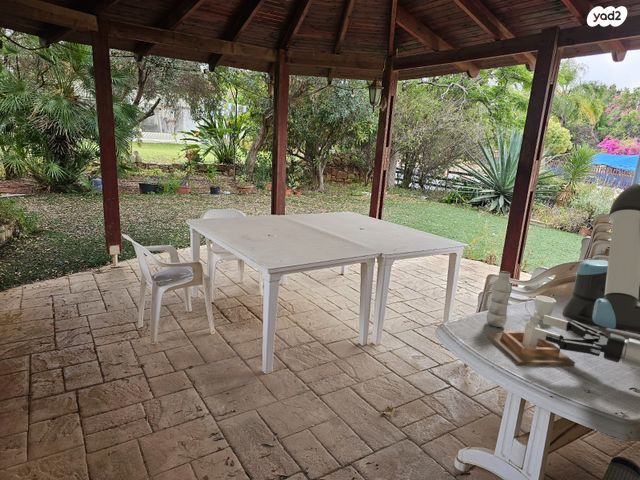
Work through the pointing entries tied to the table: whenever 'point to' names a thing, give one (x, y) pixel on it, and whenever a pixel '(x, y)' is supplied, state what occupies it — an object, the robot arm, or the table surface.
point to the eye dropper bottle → (531, 331)
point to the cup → (543, 306)
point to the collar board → (529, 350)
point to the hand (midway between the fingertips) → (538, 325)
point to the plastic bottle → (499, 300)
